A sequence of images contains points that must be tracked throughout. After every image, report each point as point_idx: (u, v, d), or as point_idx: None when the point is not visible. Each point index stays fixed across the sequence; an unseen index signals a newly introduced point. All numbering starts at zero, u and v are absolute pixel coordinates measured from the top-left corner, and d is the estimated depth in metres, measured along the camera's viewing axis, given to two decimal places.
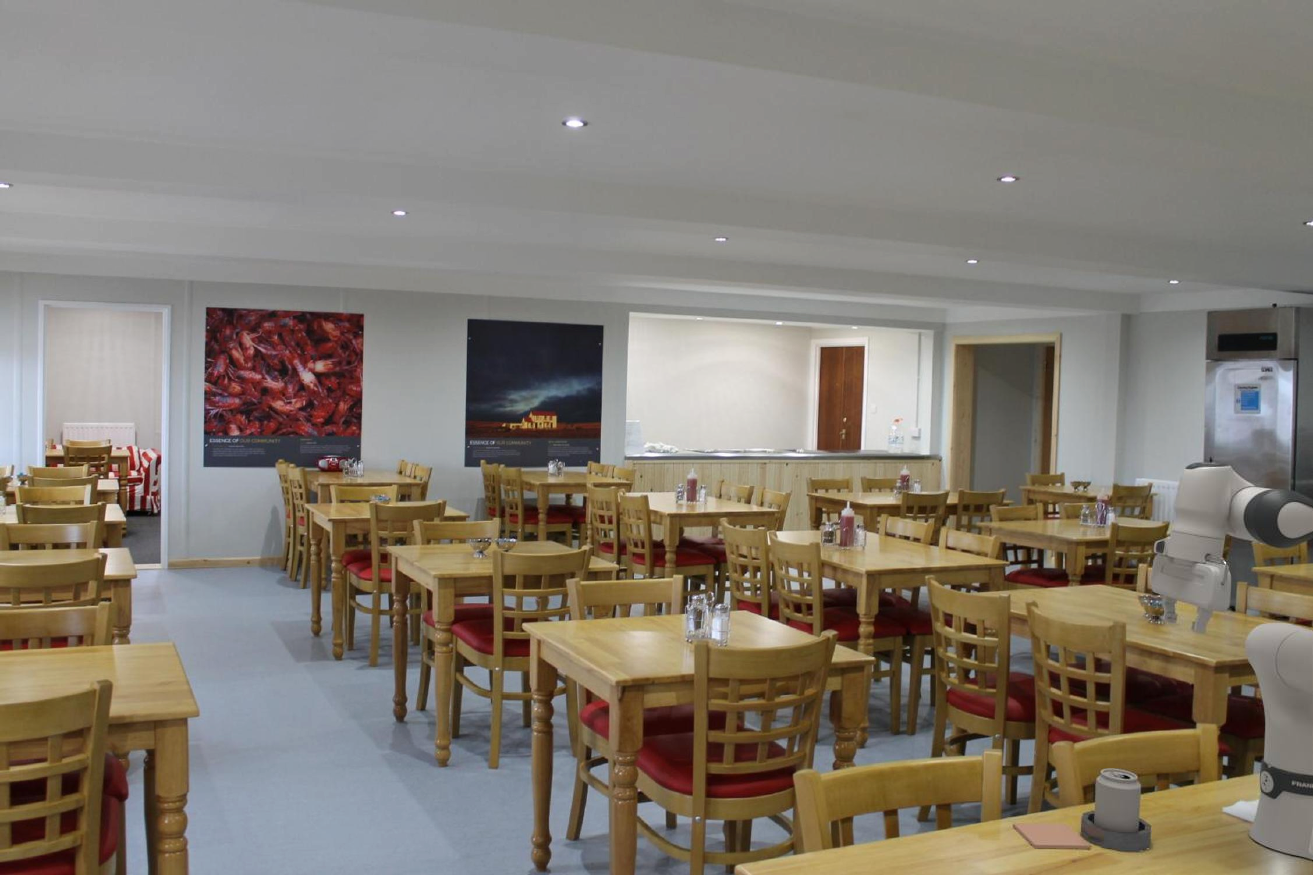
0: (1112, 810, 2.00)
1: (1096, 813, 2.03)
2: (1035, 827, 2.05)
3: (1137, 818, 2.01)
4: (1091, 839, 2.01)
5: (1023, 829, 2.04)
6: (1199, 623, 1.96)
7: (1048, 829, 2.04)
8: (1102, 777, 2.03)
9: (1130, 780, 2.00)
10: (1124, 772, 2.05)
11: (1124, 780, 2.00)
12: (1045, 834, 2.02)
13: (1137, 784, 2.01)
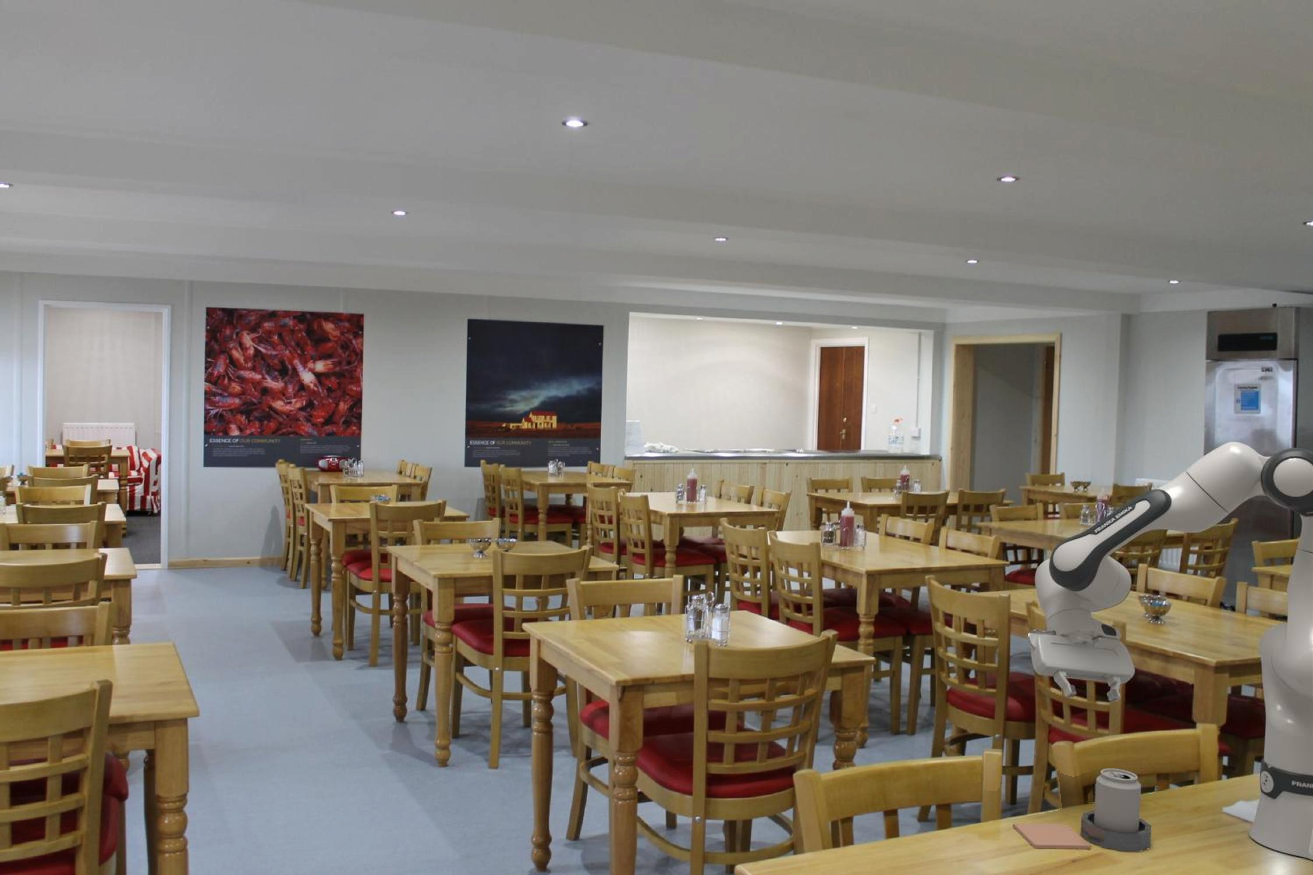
0: (1112, 810, 2.00)
1: (1096, 813, 2.03)
2: (1035, 827, 2.05)
3: (1137, 818, 2.01)
4: (1091, 839, 2.01)
5: (1023, 829, 2.04)
6: (1063, 687, 2.13)
7: (1048, 829, 2.04)
8: (1102, 777, 2.03)
9: (1130, 780, 2.00)
10: (1124, 772, 2.05)
11: (1124, 780, 2.00)
12: (1045, 834, 2.02)
13: (1137, 784, 2.01)
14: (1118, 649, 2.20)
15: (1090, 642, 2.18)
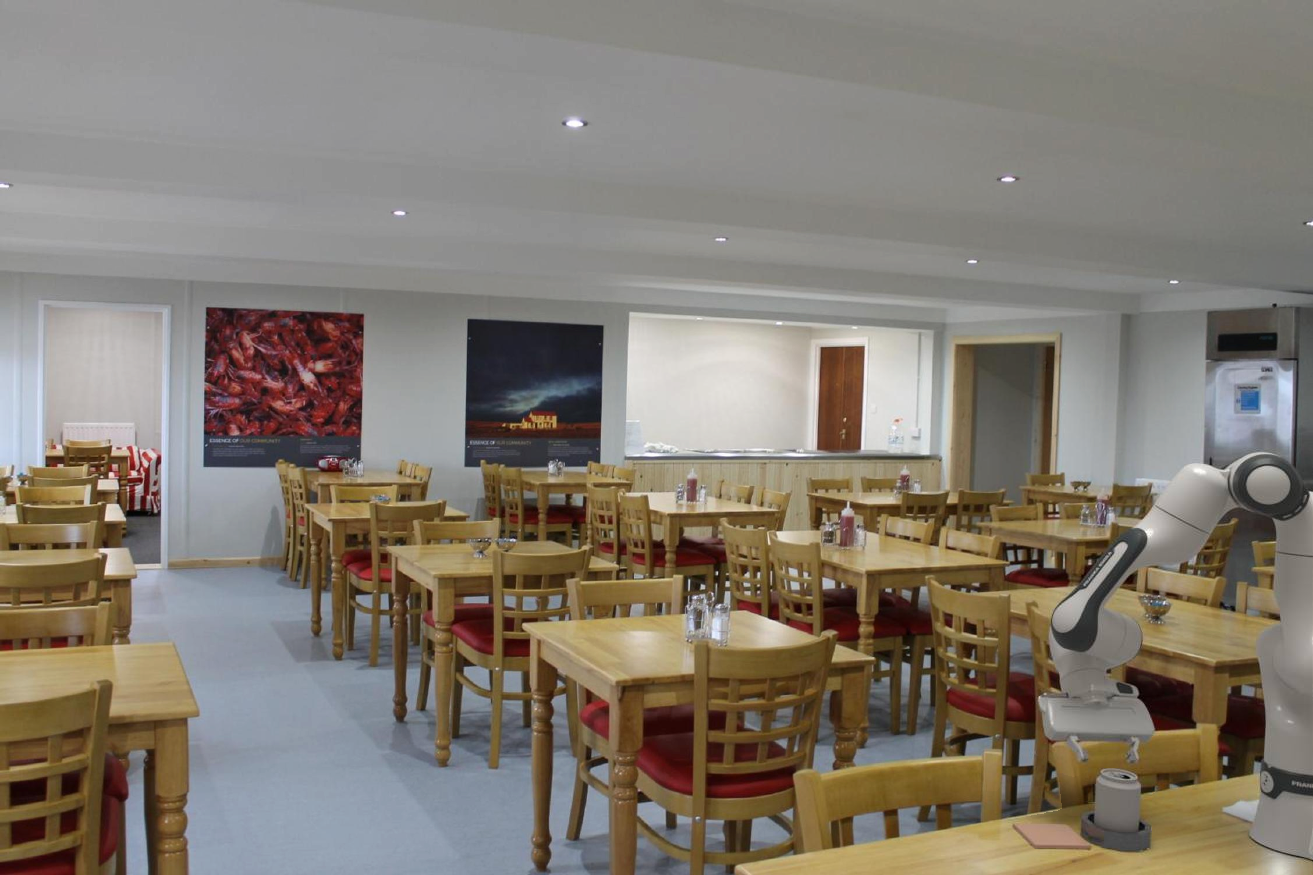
0: (1112, 810, 2.00)
1: (1096, 813, 2.03)
2: (1035, 827, 2.05)
3: (1137, 818, 2.01)
4: (1091, 839, 2.01)
5: (1023, 829, 2.04)
6: (1076, 752, 2.08)
7: (1048, 829, 2.04)
8: (1102, 777, 2.03)
9: (1130, 780, 2.00)
10: (1124, 772, 2.05)
11: (1124, 780, 2.00)
12: (1045, 834, 2.02)
13: (1137, 784, 2.01)
14: (1136, 707, 2.13)
15: (1104, 702, 2.12)
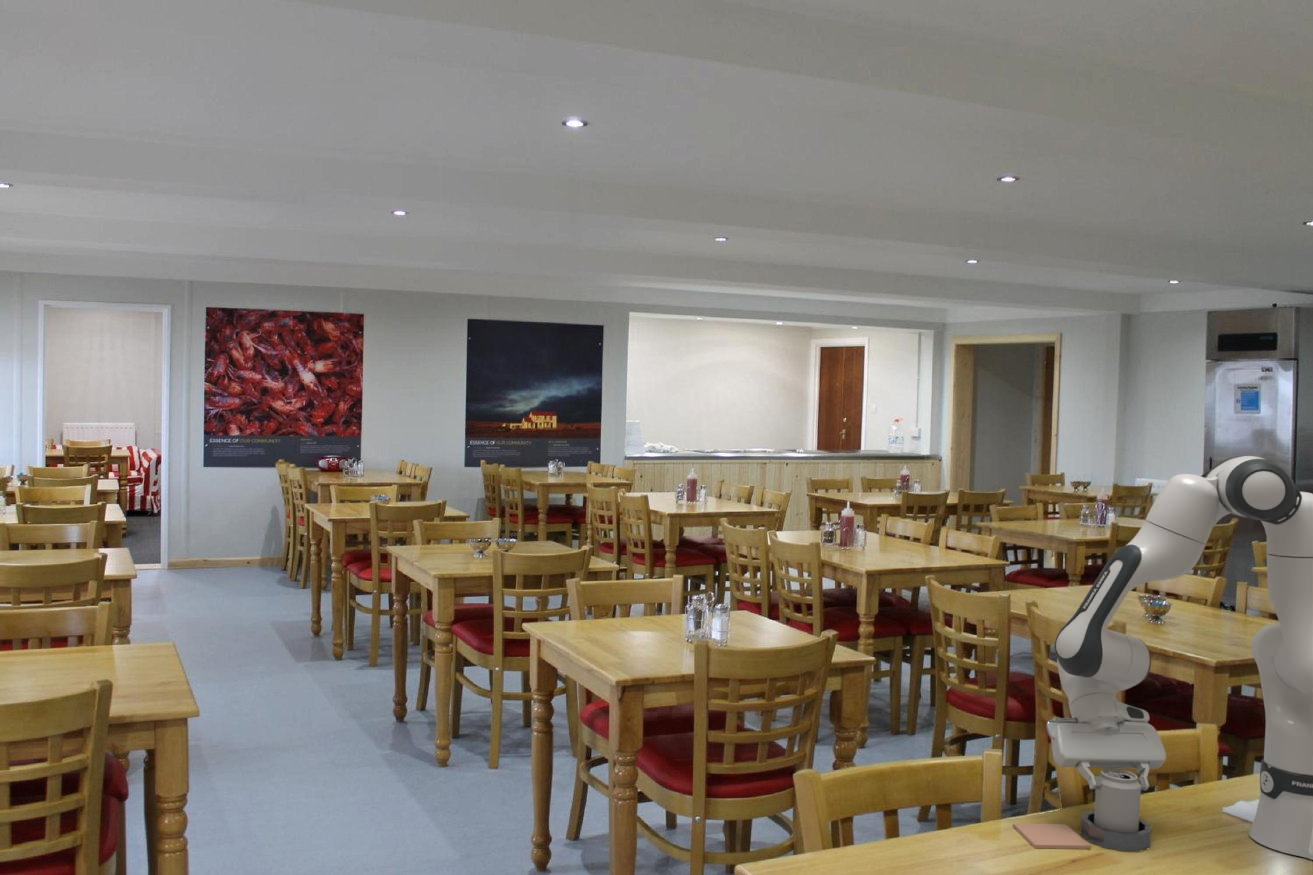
0: (1112, 809, 2.00)
1: (1096, 813, 2.03)
2: (1035, 827, 2.05)
3: (1137, 818, 2.01)
4: (1091, 839, 2.01)
5: (1023, 829, 2.04)
6: (1088, 779, 2.04)
7: (1048, 829, 2.04)
8: (1102, 777, 2.03)
9: (1130, 780, 2.00)
10: (1124, 772, 2.05)
11: (1124, 780, 2.00)
12: (1045, 834, 2.02)
13: (1137, 784, 2.01)
14: (1147, 733, 2.08)
15: (1114, 728, 2.08)
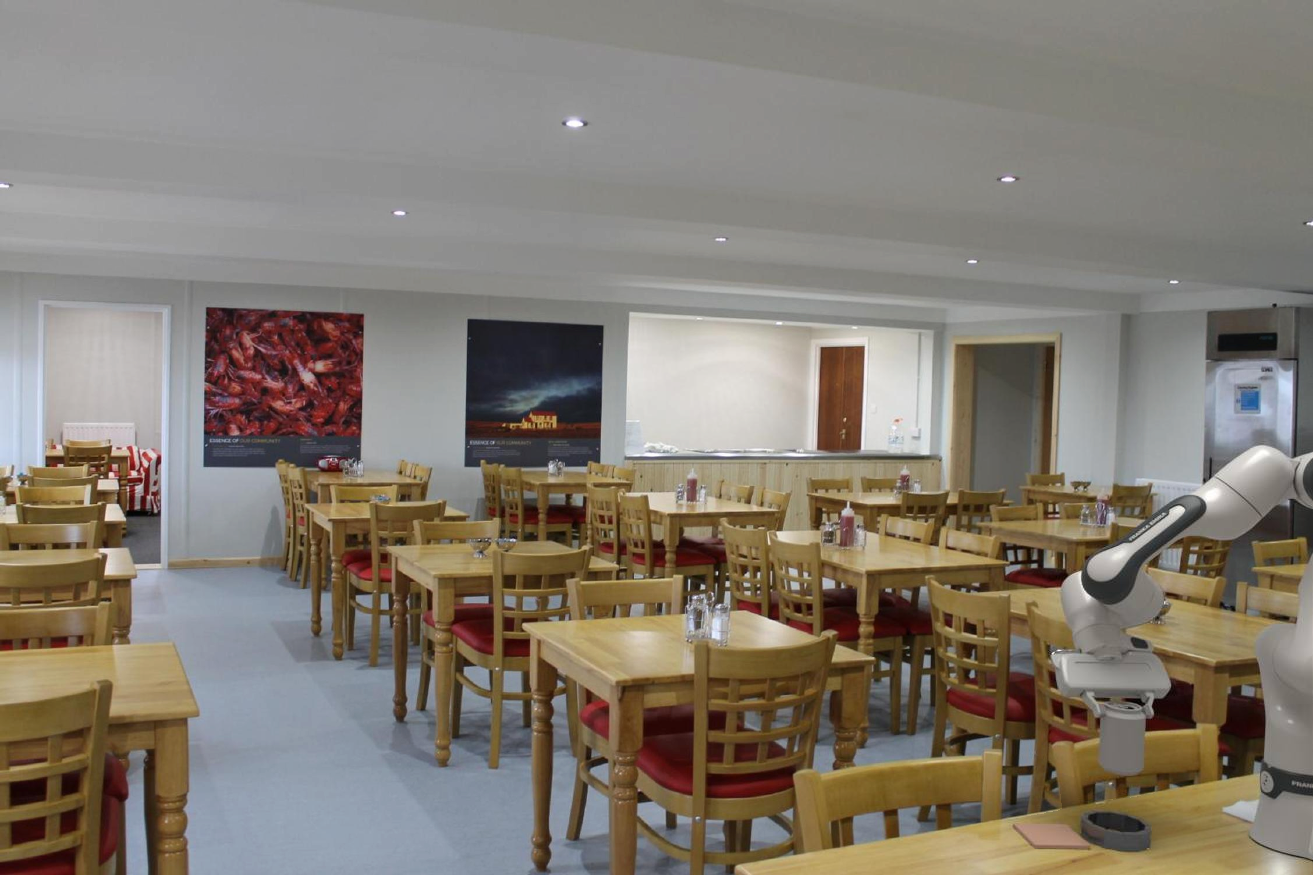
0: (1117, 740, 2.00)
1: (1101, 745, 2.03)
2: (1035, 827, 2.05)
3: (1142, 748, 2.00)
4: (1091, 839, 2.01)
5: (1023, 829, 2.04)
6: (1092, 708, 2.03)
7: (1048, 829, 2.04)
8: (1107, 708, 2.02)
9: (1135, 710, 2.00)
10: (1128, 704, 2.05)
11: (1128, 710, 2.00)
12: (1045, 834, 2.02)
13: (1142, 714, 2.00)
14: (1151, 662, 2.08)
15: (1118, 658, 2.07)
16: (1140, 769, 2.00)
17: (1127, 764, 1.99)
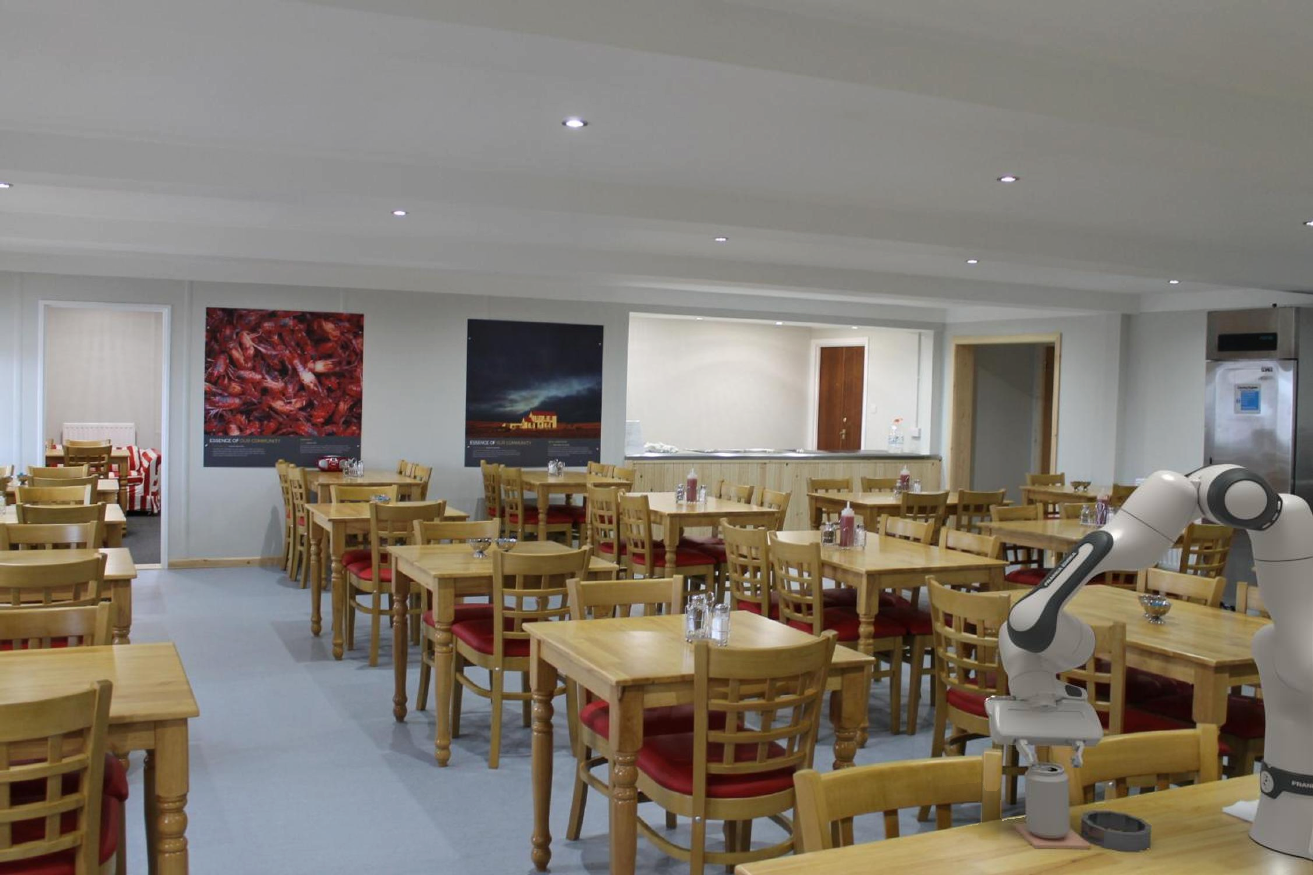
0: (1042, 804, 1.99)
1: (1027, 808, 2.02)
2: None
3: (1067, 810, 2.00)
4: (1091, 839, 2.01)
5: (1023, 829, 2.04)
6: (1025, 757, 2.03)
7: None
8: (1030, 771, 2.02)
9: (1057, 772, 2.00)
10: (1051, 764, 2.04)
11: (1051, 773, 1.99)
12: None
13: (1064, 776, 2.00)
14: (1085, 711, 2.07)
15: (1052, 705, 2.07)
16: (1067, 831, 2.00)
17: (1053, 827, 1.99)
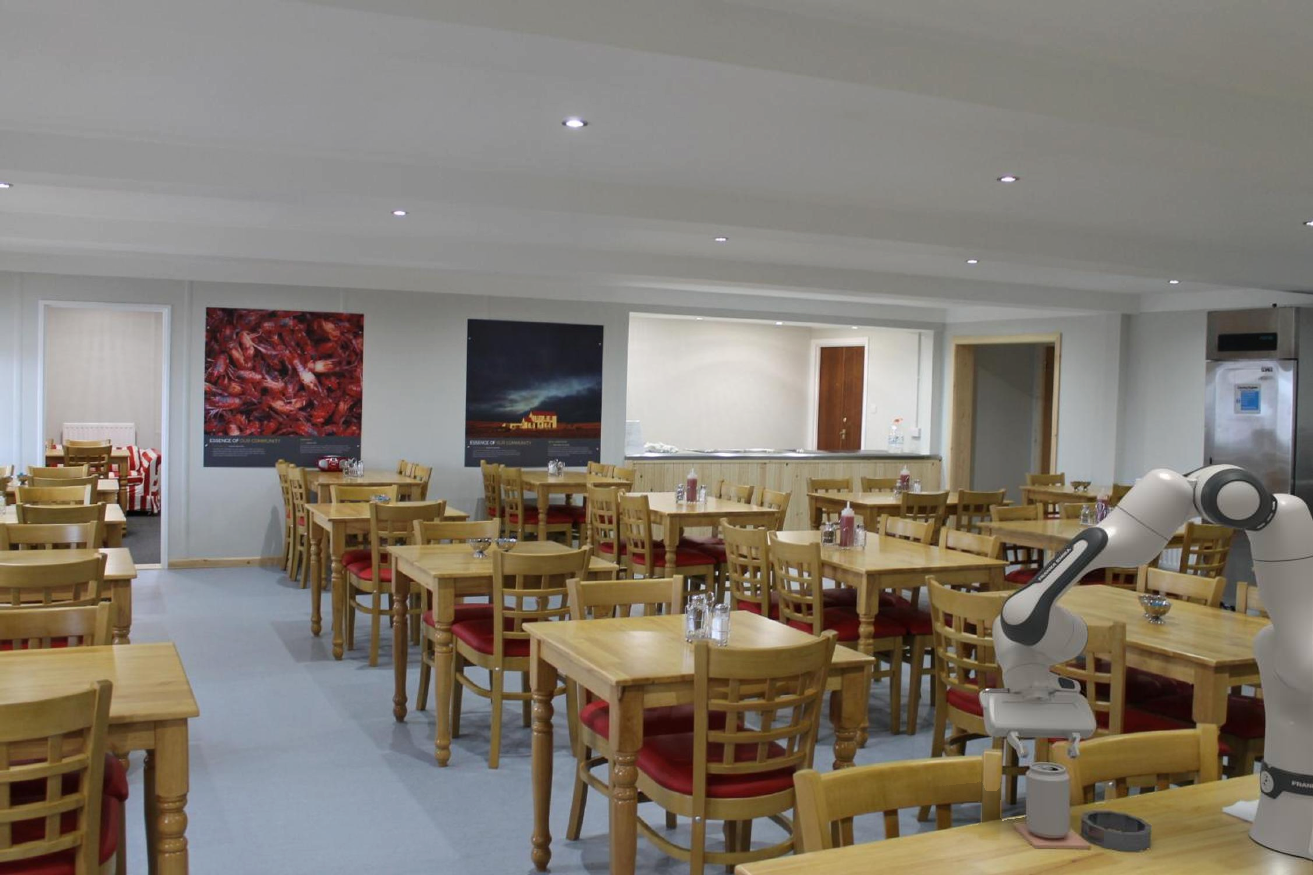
0: (1043, 803, 1.99)
1: (1028, 808, 2.02)
2: None
3: (1068, 810, 2.00)
4: (1091, 839, 2.01)
5: (1023, 829, 2.04)
6: (1016, 748, 2.06)
7: None
8: (1031, 771, 2.02)
9: (1058, 771, 2.00)
10: (1052, 765, 2.05)
11: (1052, 772, 2.00)
12: None
13: (1066, 775, 2.01)
14: (1077, 702, 2.11)
15: (1045, 698, 2.10)
16: (1067, 831, 2.00)
17: (1054, 827, 1.99)
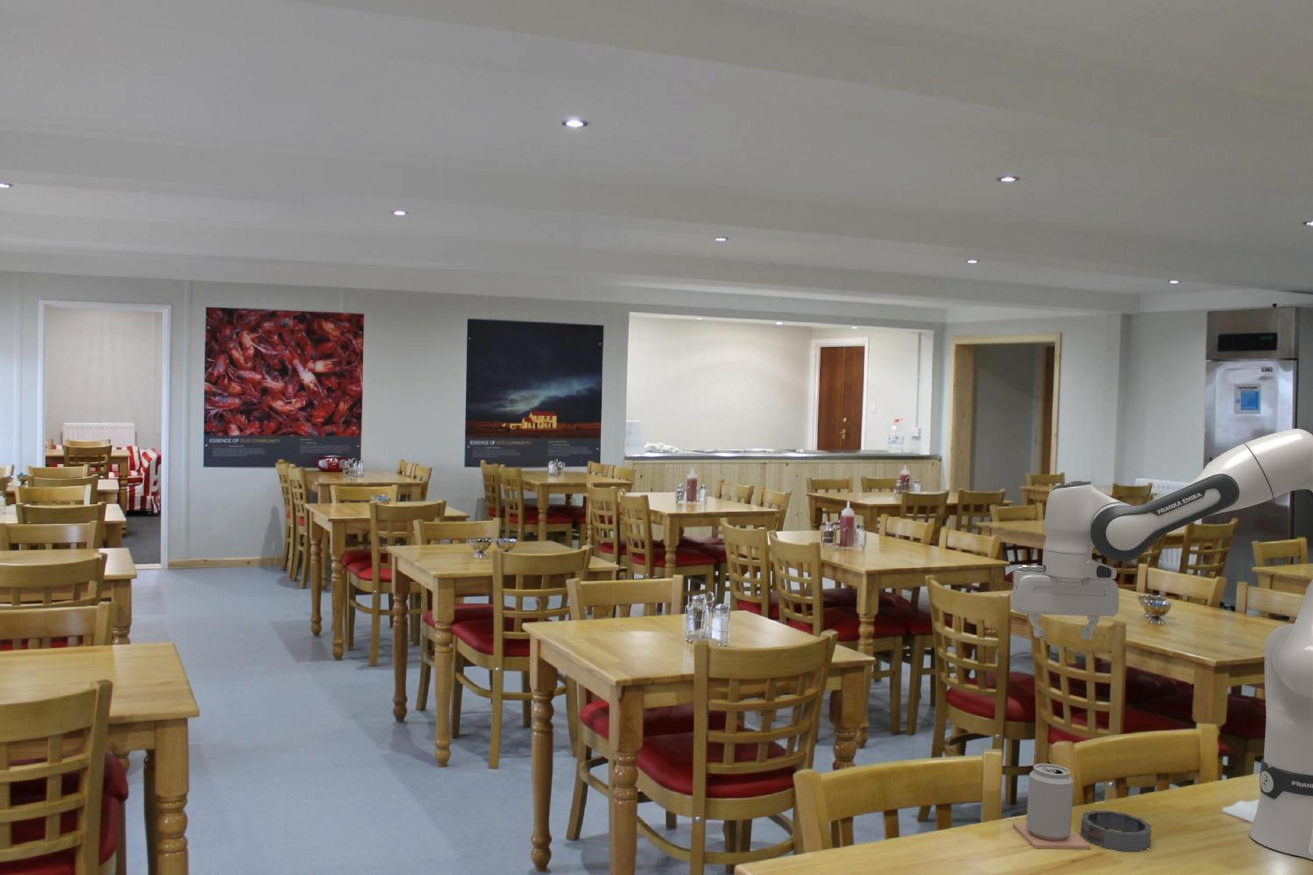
0: (1046, 805, 1.99)
1: (1030, 809, 2.02)
2: None
3: (1070, 813, 2.00)
4: (1091, 839, 2.01)
5: (1023, 829, 2.04)
6: (1034, 627, 2.17)
7: None
8: (1036, 772, 2.02)
9: (1063, 775, 1.99)
10: (1056, 767, 2.04)
11: (1058, 775, 1.99)
12: None
13: (1070, 778, 2.00)
14: (1108, 589, 2.15)
15: (1077, 585, 2.14)
16: (1068, 833, 2.00)
17: (1056, 829, 1.99)
